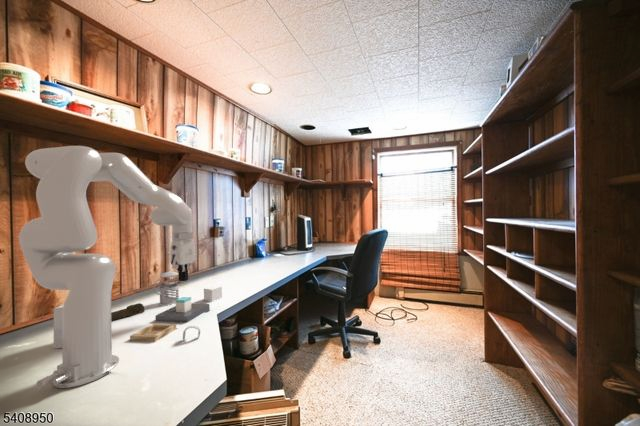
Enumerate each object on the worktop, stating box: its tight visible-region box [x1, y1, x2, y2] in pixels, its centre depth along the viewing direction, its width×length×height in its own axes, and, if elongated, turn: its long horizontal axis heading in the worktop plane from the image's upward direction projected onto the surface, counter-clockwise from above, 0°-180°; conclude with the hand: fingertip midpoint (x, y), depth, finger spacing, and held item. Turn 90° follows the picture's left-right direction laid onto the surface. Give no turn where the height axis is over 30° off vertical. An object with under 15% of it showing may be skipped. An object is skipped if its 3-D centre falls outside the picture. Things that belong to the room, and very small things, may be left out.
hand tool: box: [111, 303, 145, 322], centre depth 101 cm, size 19×4×5 cm, turn 140°
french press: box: [152, 251, 180, 307], centre depth 120 cm, size 10×12×25 cm
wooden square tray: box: [128, 323, 179, 343], centre depth 84 cm, size 10×10×2 cm
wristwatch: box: [182, 325, 201, 342], centre depth 80 cm, size 3×5×5 cm, turn 111°
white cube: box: [203, 285, 223, 302], centre depth 123 cm, size 6×6×6 cm
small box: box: [53, 304, 64, 349], centre depth 82 cm, size 8×6×13 cm
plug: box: [175, 296, 192, 312], centre depth 101 cm, size 4×4×7 cm
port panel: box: [154, 302, 211, 323], centre depth 101 cm, size 14×14×3 cm
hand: (183, 280), depth 102 cm, fingers closed
